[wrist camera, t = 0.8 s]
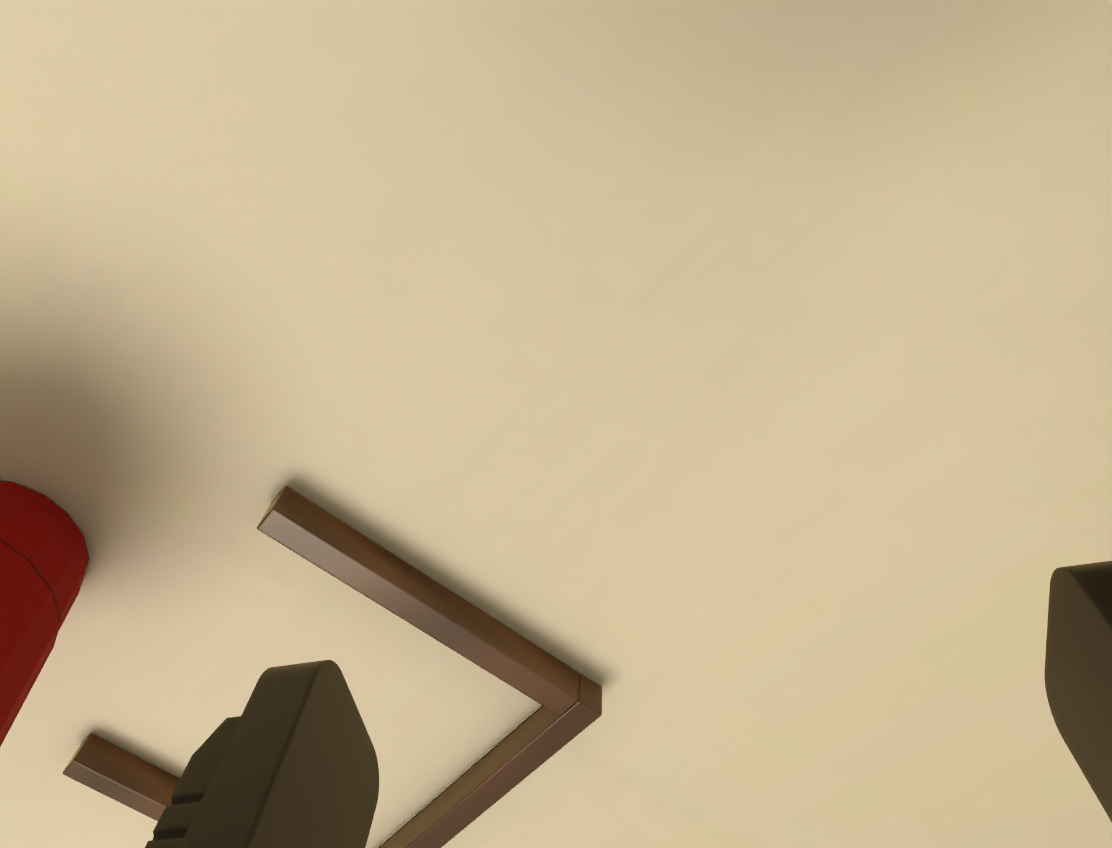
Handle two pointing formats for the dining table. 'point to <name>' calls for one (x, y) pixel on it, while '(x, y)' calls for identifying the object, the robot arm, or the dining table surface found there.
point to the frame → (436, 614)
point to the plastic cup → (33, 588)
